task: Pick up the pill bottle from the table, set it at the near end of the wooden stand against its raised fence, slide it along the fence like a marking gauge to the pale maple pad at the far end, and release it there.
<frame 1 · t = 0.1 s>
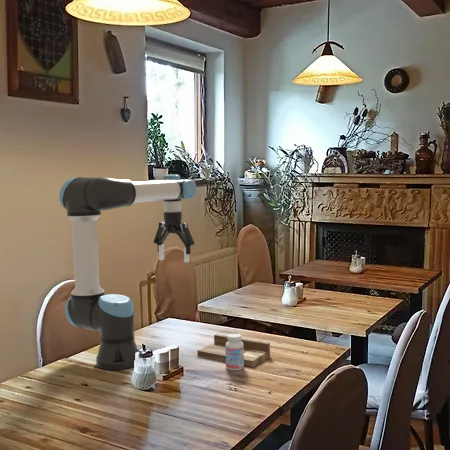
hand: (174, 261, 251), 28 cm above the table, fingers open, 13 cm apart
wooden stand: (233, 356, 210), on the table
pill bottle: (234, 368, 198), on the table
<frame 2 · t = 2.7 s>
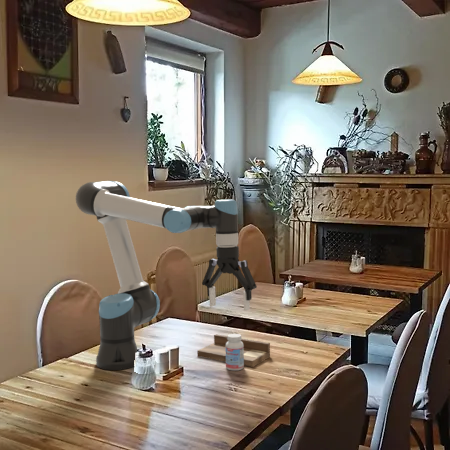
hand: (229, 307, 200), 20 cm above the table, fingers open, 13 cm apart
nothing on the table moved.
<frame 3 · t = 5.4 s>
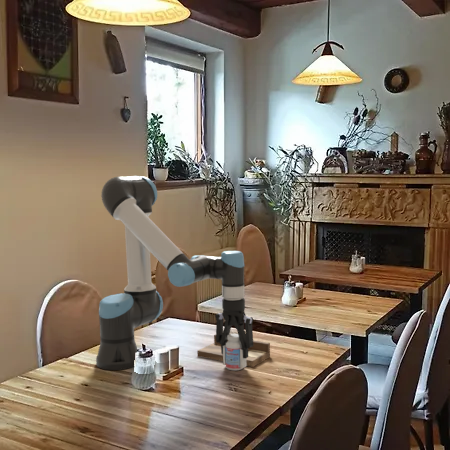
hand: (234, 365, 198), 1 cm above the table, fingers closed on pill bottle, 6 cm apart
pill bottle: (234, 368, 198), on the table, touching gripper
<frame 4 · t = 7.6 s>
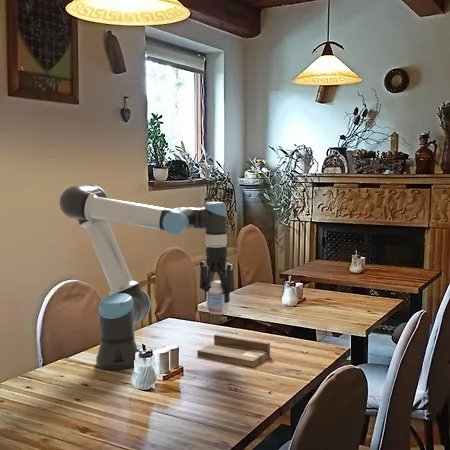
hand: (217, 310, 210), 17 cm above the table, fingers closed on pill bottle, 6 cm apart
pill bottle: (217, 313, 210), point 15 cm above the table, touching gripper
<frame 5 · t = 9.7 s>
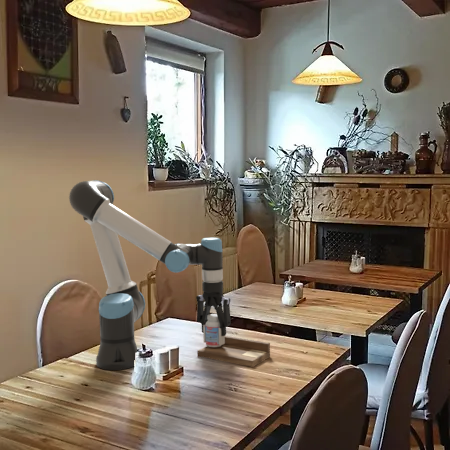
hand: (214, 342, 216), 3 cm above the table, fingers closed on pill bottle, 6 cm apart
pill bottle: (214, 345, 216), point 2 cm above the table, touching gripper
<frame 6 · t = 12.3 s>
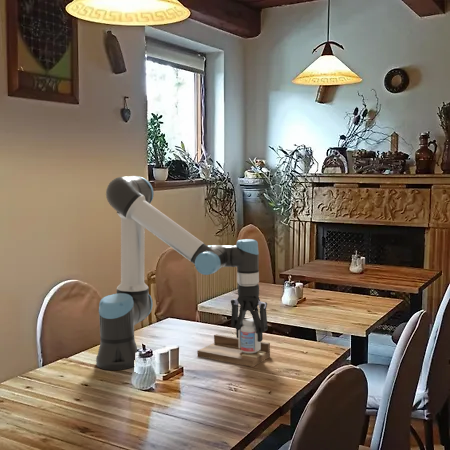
hand: (249, 348, 207), 4 cm above the table, fingers closed on pill bottle, 6 cm apart
pill bottle: (249, 351, 207), point 2 cm above the table, touching gripper
when the fingers open (3 cm above the table, at t = 13.9 s): pill bottle stays where it is, resting on wooden stand.
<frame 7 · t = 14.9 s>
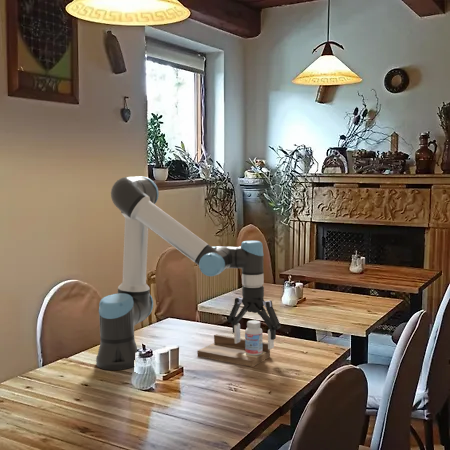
hand: (253, 345, 206), 5 cm above the table, fingers open, 13 cm apart
pill bottle: (254, 353, 206), point 2 cm above the table, touching wooden stand
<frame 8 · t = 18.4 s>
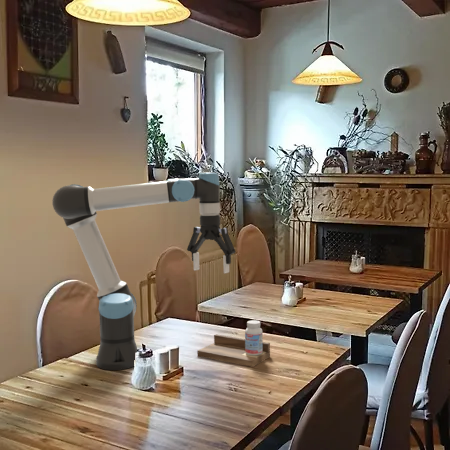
hand: (211, 271, 219), 29 cm above the table, fingers open, 13 cm apart
nothing on the table moved.
at the end: pill bottle inside the target area (0.1 cm from its centre), point 1.9 cm above the table; pill bottle tilted 0°; the gripper is holding nothing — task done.
